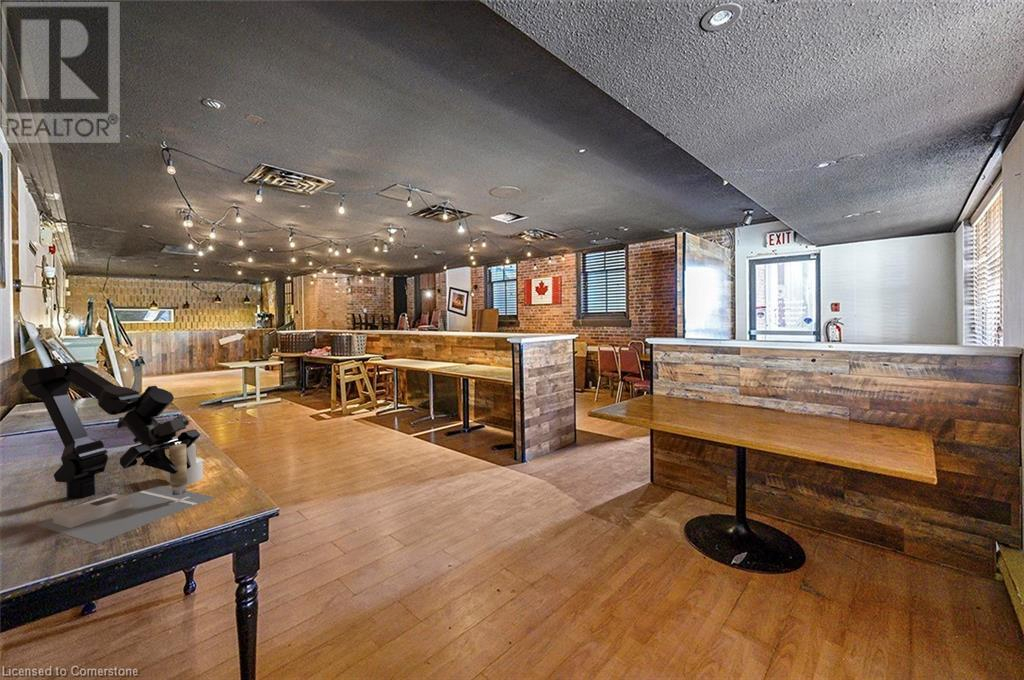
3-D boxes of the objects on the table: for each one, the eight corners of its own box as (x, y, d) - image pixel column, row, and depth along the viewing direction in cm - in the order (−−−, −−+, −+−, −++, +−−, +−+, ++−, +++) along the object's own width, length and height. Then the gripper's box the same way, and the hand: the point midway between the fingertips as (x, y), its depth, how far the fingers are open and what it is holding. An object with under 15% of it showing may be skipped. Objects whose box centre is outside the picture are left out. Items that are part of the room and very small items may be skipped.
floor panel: (36, 529, 99) (35, 524, 99) (159, 489, 123) (159, 484, 123) (95, 549, 91) (95, 543, 91) (215, 501, 115) (215, 497, 115)
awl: (167, 496, 111) (166, 448, 110) (175, 490, 114) (174, 444, 114) (182, 495, 111) (181, 447, 111) (190, 489, 115) (189, 443, 114)
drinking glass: (208, 479, 131) (207, 442, 131) (173, 488, 124) (172, 449, 123) (196, 473, 136) (195, 437, 136) (162, 482, 129) (161, 444, 128)
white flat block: (53, 522, 100) (52, 512, 100) (114, 502, 111) (114, 493, 111) (69, 528, 98) (69, 517, 98) (131, 506, 109) (130, 497, 109)
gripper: (128, 415, 103) (168, 462, 102) (194, 401, 122) (229, 440, 121) (101, 445, 104) (141, 491, 104) (170, 427, 123) (205, 465, 122)
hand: (182, 470), depth 112 cm, fingers closed on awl, 4 cm apart
